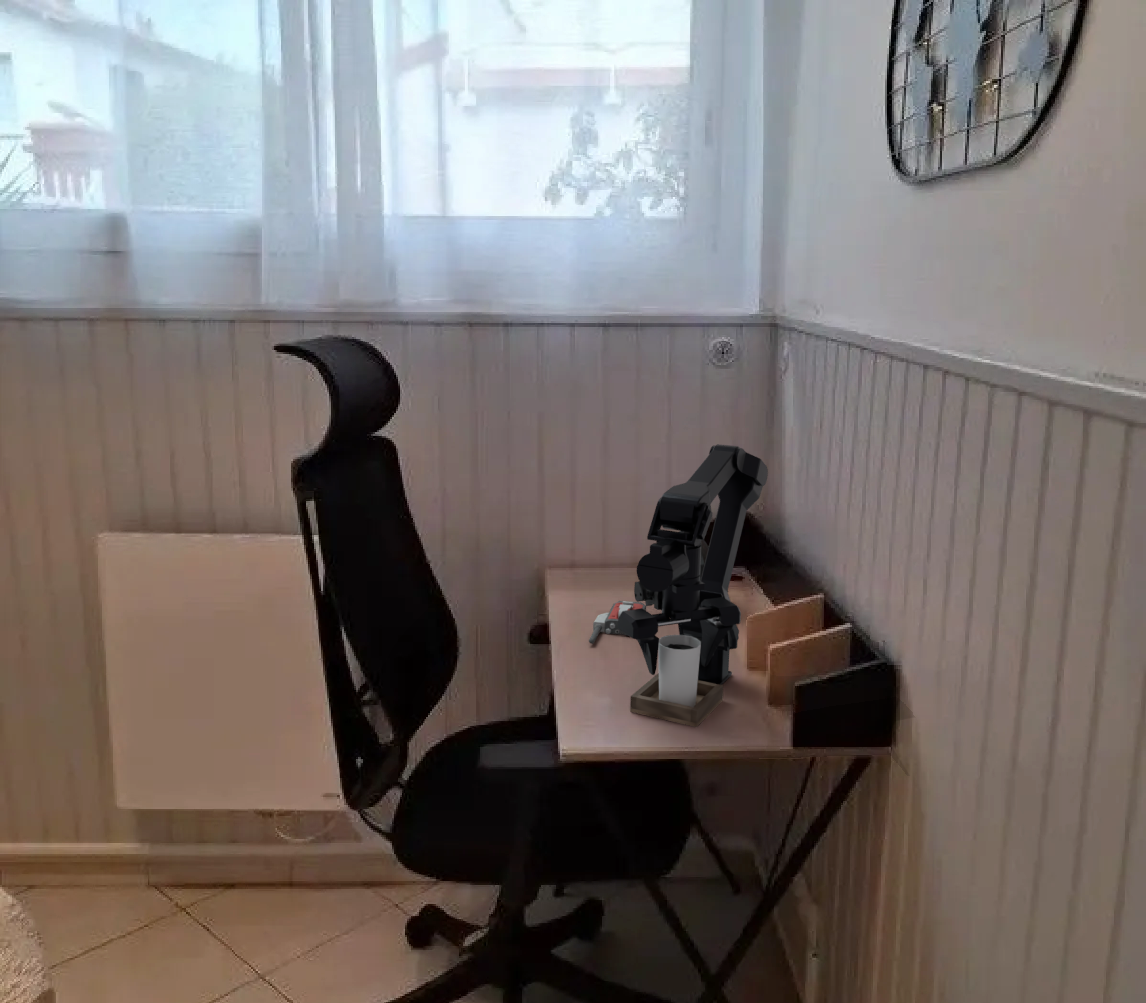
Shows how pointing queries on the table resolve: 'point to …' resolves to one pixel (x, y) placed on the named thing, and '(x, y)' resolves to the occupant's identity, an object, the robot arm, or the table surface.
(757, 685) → the table surface
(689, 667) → the white cup
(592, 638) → the walkie-talkie
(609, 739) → the table surface
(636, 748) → the table surface
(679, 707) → the frame
